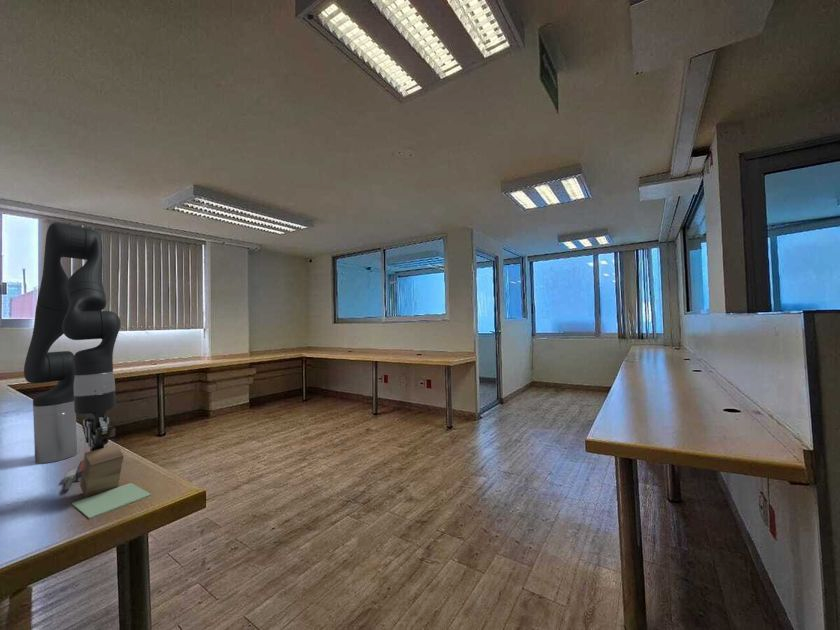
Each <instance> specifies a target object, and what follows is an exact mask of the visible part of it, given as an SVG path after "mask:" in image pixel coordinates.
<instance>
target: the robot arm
mask: <svg viewBox="0 0 840 630" xmlns="http://www.w3.org/2000/svg"><path fill="white" fill-rule="evenodd" d="M43 255H44V257H43V266H42V267H43V270H42V275H41V276H42V277H41V281H40V286H39V291H38V296H37V300H36V301H37V302H36V306H35V312H34V313H35V314H34V315H35V316H34V322H33V330H32V335H31V340H30V343H29V347H28V350H27V353H26V356H25V361H24V367H23V376H24V379H25V381H26V382H28V383H30V384H43V383H51V382H57V383H56V385H55V386H54V387H52V388H50V389H49V390H46V391H44V392H41V393H39V394H37V395H35V396H34V397H33V399H32V411H33V414H32V415H33V439H34V441H33V442H34V463H35V464H46V463H47V464H48V463H53V462H59V461H62V460H65V459H67V458H72V457H73V456H76V455H77V453H78V438H77V437H78V436H77V435H78V434H77V431H78V430H77V415H85V419H83V420H82V421H81V426H82V431H83V434H84V438H85V442H86V444H88V447H89V449H90V450H89V452H90V451H94V450H98V449H102V448H105V445H107V444H109V439H110V436H111V433H112V428H113V427H112V425H111V424H110V417H109V416H107V411H108V410H112V409H114V408H115V407H116V405H117V403H116V380H115V375H114V362H113V361H114V359H113V357H114V356H113V355H114V349H115V344H116V341H117V338H118V335H119V332H120V329H121V318H120V317H119V315H118V314H117V313H116V312H114V311H111V310H104V309H105V308H106V306H107V299H106V298H107V297H106V293H105V289H104V283H103V239H102V236H101V234H100V233H99V231H97V230H95V229H92V228H88V227H83V226H78V225H72V224H67V223H60V222H53V223H51V224H50V225H49V226H48V228H47V231H46V235H45V243H44V254H43ZM62 258H70V259H76V260H83V261H84V260H85V263H84V264H83V265H82V266H81V267H79V268H78V269H77V270H76V271H75V272H73V273H72V274H71V275H70V277H68V276H67V274H66V271H65V269H64V268H63V266H62V262H61V261H62ZM63 335H64V336H65V337H66V338H67V339H69V340H72V341H84V340H85V341H87V340H89V341H90V340H101V342H100V343H99V344H98V345H96V346H94V347H91V348H86V349H82V350H78V351H77V352H75V353H74V352H72V351H70V350H64V351H63V350H61V351H50V349H51V347H52V345H53V344H54V343H55V342H56V341H57V340H58V339H59V338H60V337H62V336H63ZM49 351H50V352H49Z"/></svg>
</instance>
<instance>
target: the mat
mask: <svg viewBox="0 0 840 630" xmlns="http://www.w3.org/2000/svg"><path fill="white" fill-rule="evenodd" d="M151 496H152V494H151V493H150V492H148V491H146V490H145V489H143V488H141V487H140V486H137V485H136V484H134V483H132V482H130V483H127V484H123V485H120V486H118V487H117V488H114V489H112V490H109V491H106V492H103V493H100V494H97V495H94V496H91V497H88V498H85V497H84V498H82V499H79V500H77V501H73V502H72V503H71V504H72V506H74V508H76V509H77V510H78V511H79V512H80V513H82V514H83V515H84V516H85V517H86V518H88V519H93V518H96V517H99V516H101V515H103V514H107V513H108V512H112V511H114V510H116V509H119V508H122V507H125V506H127V505H129V504H132V503H135V502H138V501H140V500H143V499H145V498H149V497H151Z"/></svg>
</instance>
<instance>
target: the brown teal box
mask: <svg viewBox="0 0 840 630" xmlns="http://www.w3.org/2000/svg"><path fill="white" fill-rule="evenodd" d="M83 457H84V458H83V460H84V462H83V469H82V476H81V481H80V483H79V486H80V490H81V492H82V494H83V496H84V499H85V498H88V497H91V496H94V495H97V494H100V493H103V492H106V491H109V490H112V489H114V488H117V487H119V483H120V476H121V472H122V466H123V460H124V454H123V452H122V451H121V449H120V447H119V445H118V444H114V445H110V446H107V447H106V446H105V447H104V448H102V449H98V450H94V451H90V450H89V451H87V452H84V456H83Z"/></svg>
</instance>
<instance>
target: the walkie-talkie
mask: <svg viewBox="0 0 840 630" xmlns="http://www.w3.org/2000/svg"><path fill="white" fill-rule="evenodd" d="M83 462H84V459H82V460H81V461H80V462H79V464H78V466H77V467H76V468H74V469H72V470H69V471H67V473H66V474H65V476H64V478H63V479H64V484H65V485H64V487H63V492H69V491H70V488H71V486H72V483H76V482H77V481H78V482H81V476H82V469H83ZM75 481H76V482H75Z"/></svg>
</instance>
